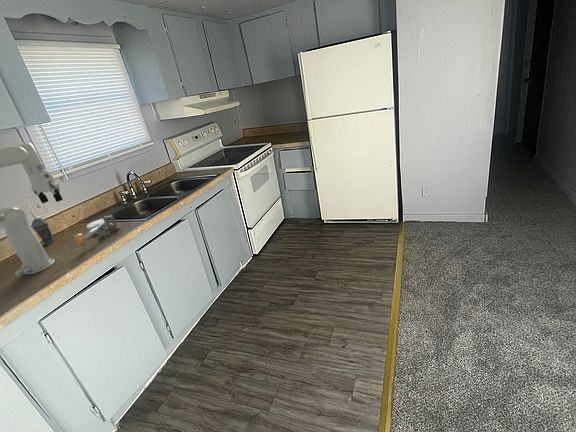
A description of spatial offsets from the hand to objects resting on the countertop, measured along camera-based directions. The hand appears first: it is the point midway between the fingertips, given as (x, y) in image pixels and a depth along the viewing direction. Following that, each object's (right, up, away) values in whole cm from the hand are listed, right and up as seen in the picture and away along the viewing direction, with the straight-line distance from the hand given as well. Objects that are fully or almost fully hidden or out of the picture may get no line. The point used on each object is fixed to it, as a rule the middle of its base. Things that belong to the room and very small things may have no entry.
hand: (52, 201), depth 155 cm
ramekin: (+8, -16, +26) cm, 32 cm away
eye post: (+19, -16, +22) cm, 33 cm away
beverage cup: (-19, -23, +22) cm, 37 cm away
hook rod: (+16, -19, +9) cm, 26 cm away
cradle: (+17, -19, +15) cm, 30 cm away
